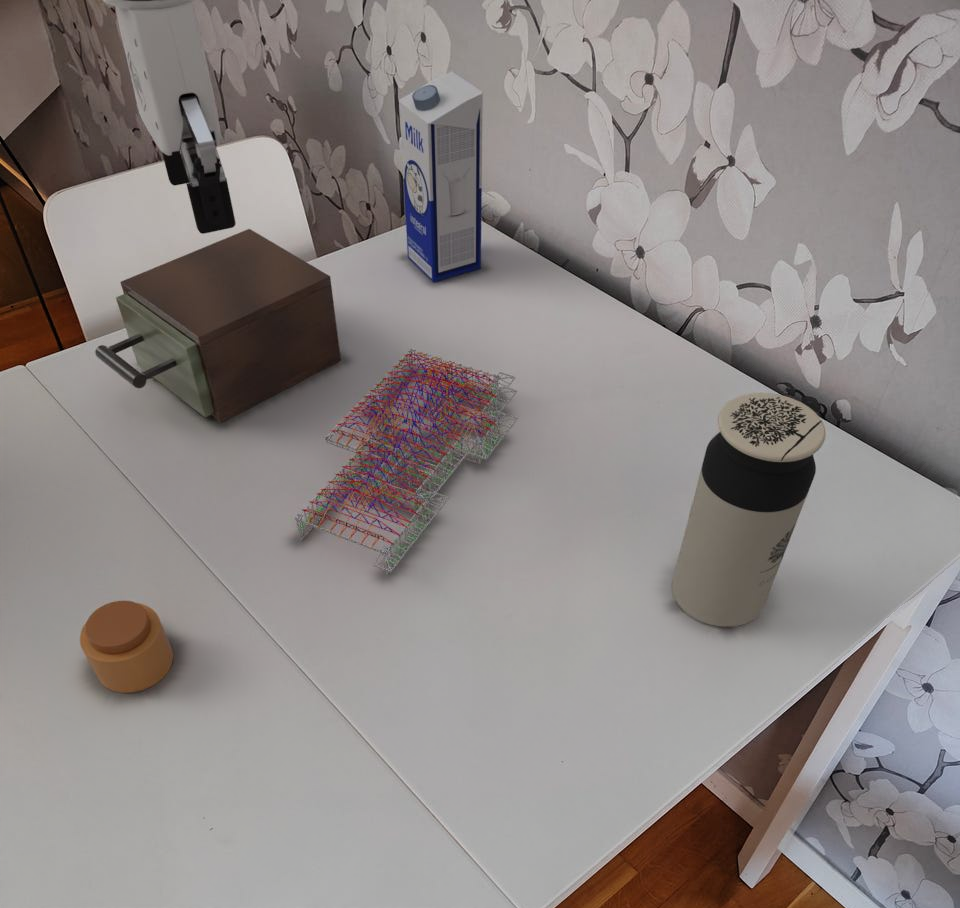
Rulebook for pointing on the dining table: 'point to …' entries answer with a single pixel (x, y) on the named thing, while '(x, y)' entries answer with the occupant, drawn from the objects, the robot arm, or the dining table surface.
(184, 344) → the drawer
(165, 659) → the small lidded canister
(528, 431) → the dining table surface
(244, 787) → the dining table surface
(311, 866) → the dining table surface
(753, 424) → the travel mug
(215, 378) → the cabinet
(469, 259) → the milk carton
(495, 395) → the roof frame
